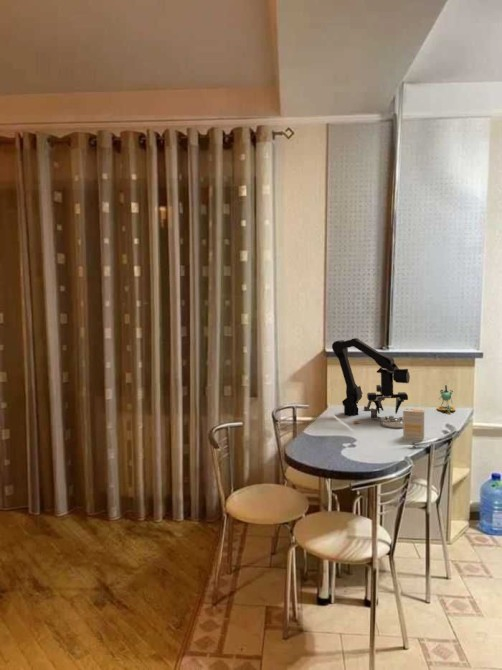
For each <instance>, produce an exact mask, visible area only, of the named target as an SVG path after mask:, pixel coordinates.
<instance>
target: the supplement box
mask: <svg viewBox="0 0 502 670" xmlns="http://www.w3.org/2000/svg"><path fill="white" fill-rule="evenodd" d="M402 414H403V415H402V417H403V428H402V429H403V430H402V434H403V435H402V436H403V440H404V439H407V440H413V441H414V440H416V441H424V439H425V409H416V408H415V409H414V408H403V410H402Z"/></svg>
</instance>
